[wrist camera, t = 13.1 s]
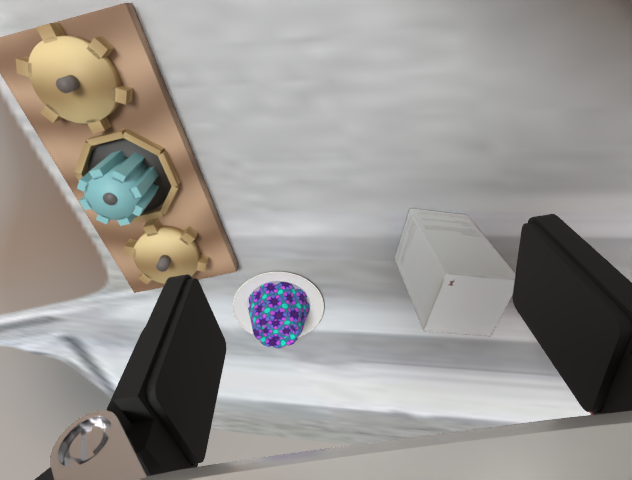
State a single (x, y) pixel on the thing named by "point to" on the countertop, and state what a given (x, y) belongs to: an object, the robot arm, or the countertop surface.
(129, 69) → the gear board
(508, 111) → the countertop surface
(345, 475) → the robot arm
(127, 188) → the loose gear
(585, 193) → the countertop surface
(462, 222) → the supplement box
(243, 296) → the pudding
